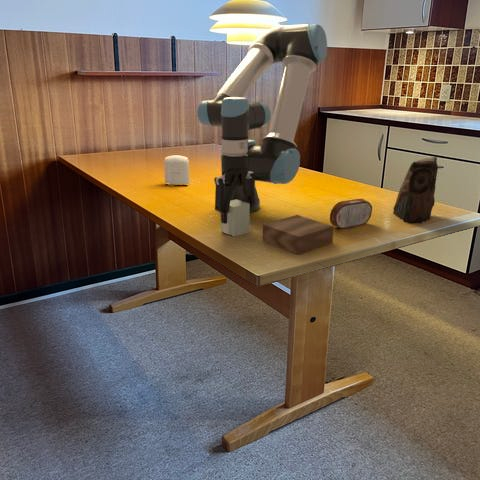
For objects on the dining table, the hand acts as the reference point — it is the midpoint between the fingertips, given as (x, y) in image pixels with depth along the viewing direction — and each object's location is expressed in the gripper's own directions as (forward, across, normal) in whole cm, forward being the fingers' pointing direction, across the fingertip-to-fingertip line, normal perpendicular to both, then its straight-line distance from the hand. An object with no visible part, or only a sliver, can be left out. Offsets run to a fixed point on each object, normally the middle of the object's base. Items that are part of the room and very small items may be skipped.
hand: (235, 230), depth 147 cm
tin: (+1, +31, -19) cm, 36 cm away
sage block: (0, 0, 0) cm, 0 cm away
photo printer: (+1, +20, +62) cm, 65 cm away
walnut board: (0, +8, -18) cm, 20 cm away
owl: (+1, +54, -26) cm, 60 cm away
